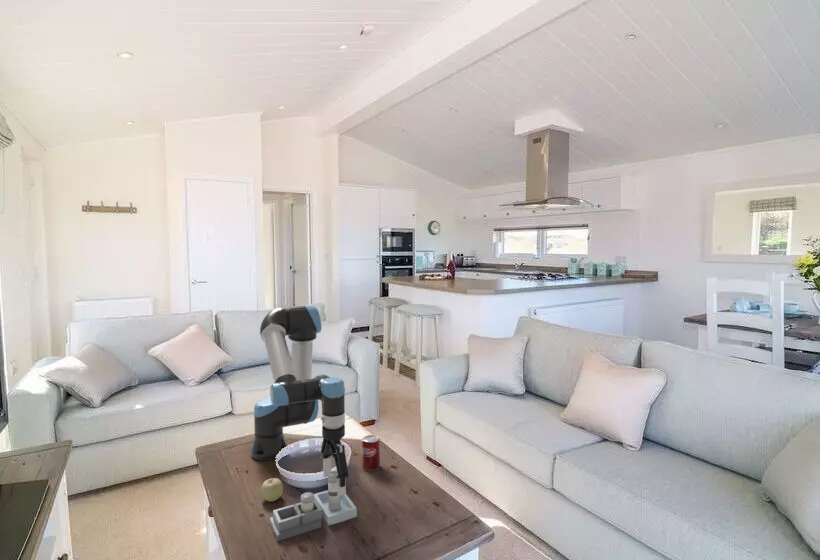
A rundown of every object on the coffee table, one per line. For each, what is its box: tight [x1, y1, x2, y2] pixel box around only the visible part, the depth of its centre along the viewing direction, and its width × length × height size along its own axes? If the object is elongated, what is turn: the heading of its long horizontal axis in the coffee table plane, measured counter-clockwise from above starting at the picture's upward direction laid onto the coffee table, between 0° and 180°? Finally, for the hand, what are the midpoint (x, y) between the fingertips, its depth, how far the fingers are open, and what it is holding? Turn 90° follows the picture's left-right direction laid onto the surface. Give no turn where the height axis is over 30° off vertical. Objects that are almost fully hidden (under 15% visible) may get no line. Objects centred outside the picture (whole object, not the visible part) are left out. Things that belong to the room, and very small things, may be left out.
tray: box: [313, 489, 358, 527], centre depth 155 cm, size 15×10×3 cm, turn 30°
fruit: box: [260, 477, 284, 503], centre depth 161 cm, size 8×7×8 cm
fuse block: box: [269, 491, 323, 542], centre depth 146 cm, size 10×15×9 cm
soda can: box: [361, 434, 381, 472], centre depth 183 cm, size 7×7×12 cm
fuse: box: [327, 470, 341, 511], centre depth 154 cm, size 4×4×12 cm
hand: (334, 485), depth 154 cm, fingers open, 13 cm apart
